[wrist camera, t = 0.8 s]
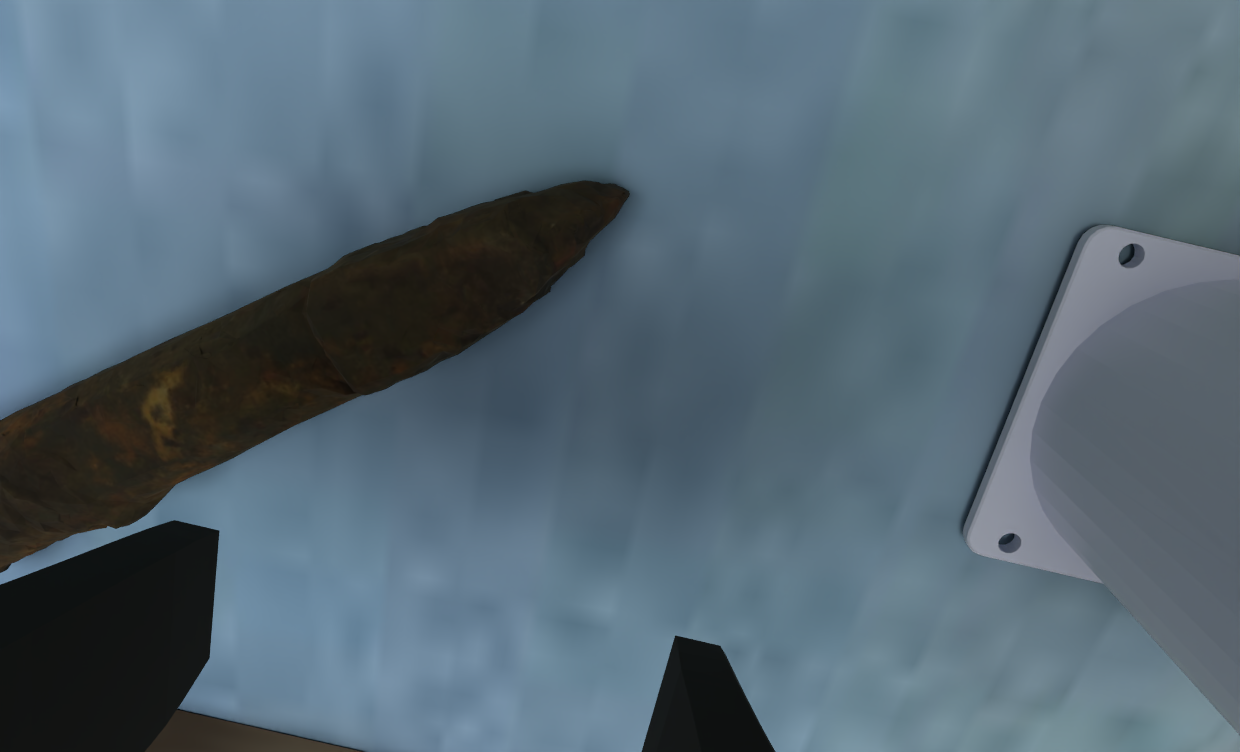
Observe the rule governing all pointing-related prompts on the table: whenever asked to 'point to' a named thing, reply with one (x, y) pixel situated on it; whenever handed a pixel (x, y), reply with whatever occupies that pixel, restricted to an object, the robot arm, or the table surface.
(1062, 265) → the table surface
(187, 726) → the walnut board
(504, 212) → the dark brown rod
